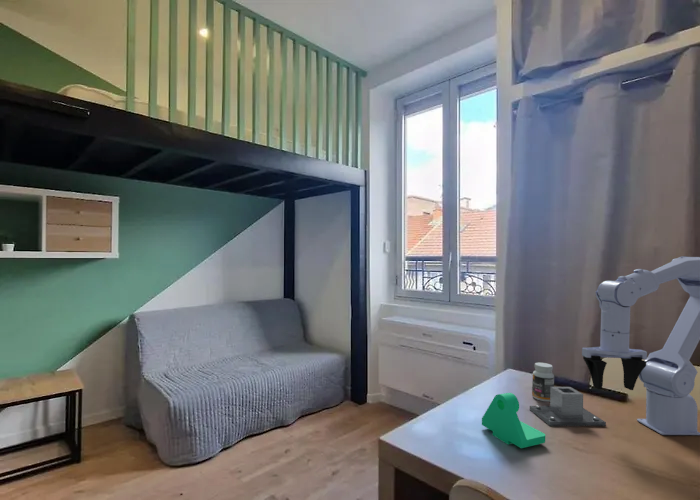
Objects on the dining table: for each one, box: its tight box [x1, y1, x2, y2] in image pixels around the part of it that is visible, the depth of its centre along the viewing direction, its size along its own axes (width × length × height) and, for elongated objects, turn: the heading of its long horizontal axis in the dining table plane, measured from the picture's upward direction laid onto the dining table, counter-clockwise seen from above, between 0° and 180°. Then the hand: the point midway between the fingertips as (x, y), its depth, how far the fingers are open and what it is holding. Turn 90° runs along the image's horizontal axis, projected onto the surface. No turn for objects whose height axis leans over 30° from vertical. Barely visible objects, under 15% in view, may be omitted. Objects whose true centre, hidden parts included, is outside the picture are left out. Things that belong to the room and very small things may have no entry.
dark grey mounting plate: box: [529, 404, 607, 427], centre depth 100 cm, size 14×10×6 cm
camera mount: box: [481, 392, 546, 449], centre depth 88 cm, size 12×8×10 cm, turn 22°
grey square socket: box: [549, 386, 584, 418], centre depth 100 cm, size 5×5×6 cm
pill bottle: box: [531, 362, 555, 403], centre depth 113 cm, size 6×6×10 cm
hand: (613, 388), depth 92 cm, fingers open, 7 cm apart
